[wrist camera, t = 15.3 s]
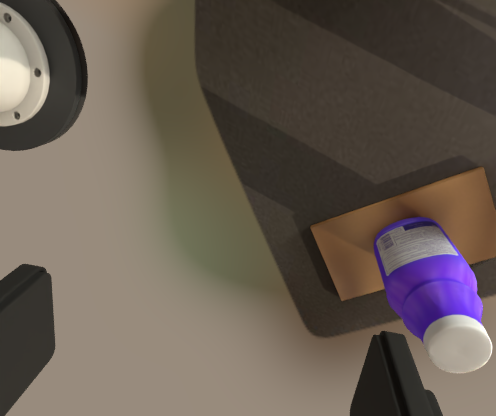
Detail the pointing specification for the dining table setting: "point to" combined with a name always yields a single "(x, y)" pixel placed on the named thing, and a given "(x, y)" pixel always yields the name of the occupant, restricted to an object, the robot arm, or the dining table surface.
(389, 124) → the dining table surface
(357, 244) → the mat
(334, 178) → the dining table surface
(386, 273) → the bottle
